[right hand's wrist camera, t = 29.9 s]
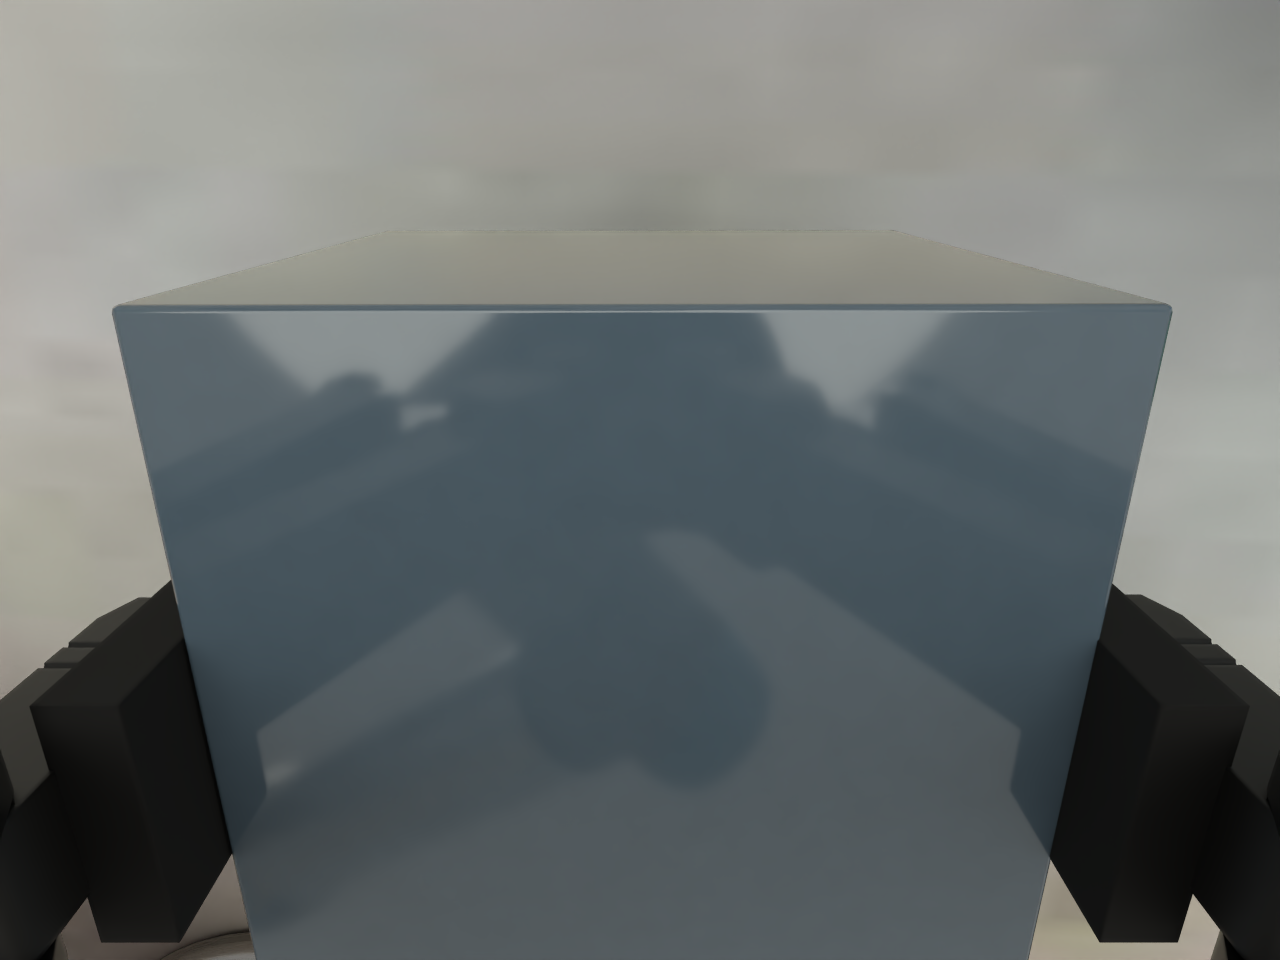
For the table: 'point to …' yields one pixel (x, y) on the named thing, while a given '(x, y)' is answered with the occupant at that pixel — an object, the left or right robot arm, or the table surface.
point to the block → (641, 584)
